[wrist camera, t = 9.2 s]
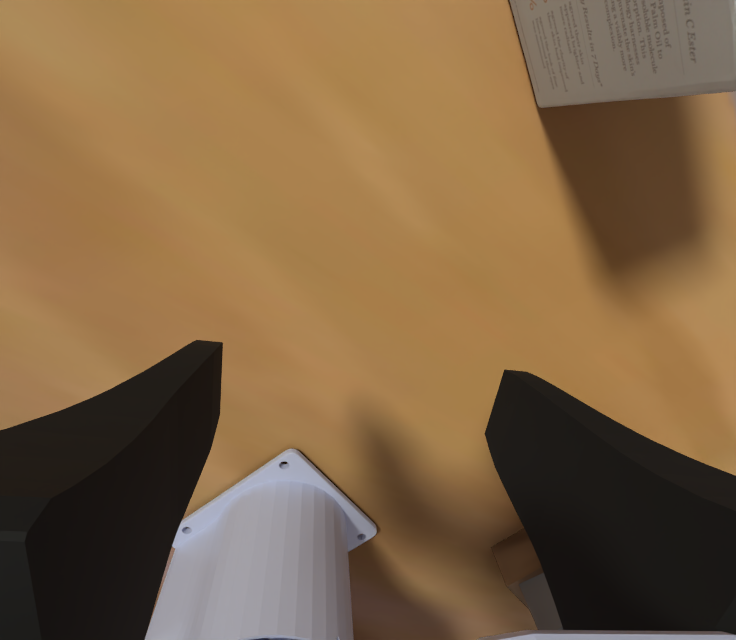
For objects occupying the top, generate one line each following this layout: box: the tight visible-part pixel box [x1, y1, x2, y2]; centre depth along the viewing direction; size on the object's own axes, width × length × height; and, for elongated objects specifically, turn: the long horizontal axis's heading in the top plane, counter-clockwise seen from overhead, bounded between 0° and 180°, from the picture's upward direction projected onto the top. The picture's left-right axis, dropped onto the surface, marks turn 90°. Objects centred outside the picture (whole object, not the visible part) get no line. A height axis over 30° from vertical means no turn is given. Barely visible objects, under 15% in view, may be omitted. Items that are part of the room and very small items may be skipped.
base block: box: [491, 528, 544, 610], centre depth 29 cm, size 6×6×3 cm
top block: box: [519, 573, 563, 630], centre depth 26 cm, size 5×5×3 cm
